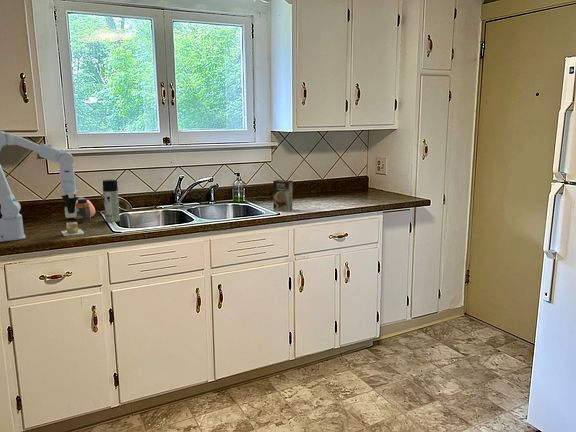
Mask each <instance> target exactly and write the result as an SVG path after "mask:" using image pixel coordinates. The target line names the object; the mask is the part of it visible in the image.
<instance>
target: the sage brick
mask: <svg viewBox="0 0 576 432" xmlns="http://www.w3.org/2000/svg"><path fill="white" fill-rule="evenodd" d="M64 216H65V218H66V219H70V218H72V217H77V214H76V207H75V212H74V213H70V214H69V212H68V209H67V207H66V206H64Z"/></svg>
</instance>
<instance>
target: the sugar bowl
mask: <svg viewBox="0 0 576 432" xmlns="http://www.w3.org/2000/svg"><path fill="white" fill-rule="evenodd" d="M80 198H81V197H78V198H77V201H76V204H77V203H78V199H80ZM87 203H89V206H90V216H91V218H92V217H93V216H95V215H96V208H95V206H94V205H93V203H92V202H91V201H90V200H89V199H87ZM76 204H75V207H76ZM76 214H77V210H76ZM71 218H72V219H75V220H77V217H71Z"/></svg>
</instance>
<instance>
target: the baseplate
mask: <svg viewBox="0 0 576 432" xmlns="http://www.w3.org/2000/svg"><path fill="white" fill-rule="evenodd" d="M61 233H62V235H63V236H64V237H65V236H75V235H84V234H85V232H84V231H83V230H82V228H78V233H71V234H68V233H67V230H61Z"/></svg>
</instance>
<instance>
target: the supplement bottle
mask: <svg viewBox="0 0 576 432" xmlns="http://www.w3.org/2000/svg"><path fill="white" fill-rule="evenodd" d="M79 198H80V199H78V198H77V200H78V203H77V204H76V210H77V219H76V220H77V223H80V224H81V223H88V222H91V220H92V217H91V216H90V206H89V203H87V200H88V199H87V197H86V198H85V197H79Z"/></svg>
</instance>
